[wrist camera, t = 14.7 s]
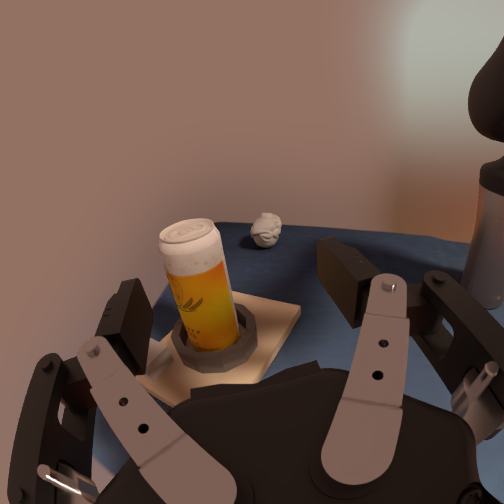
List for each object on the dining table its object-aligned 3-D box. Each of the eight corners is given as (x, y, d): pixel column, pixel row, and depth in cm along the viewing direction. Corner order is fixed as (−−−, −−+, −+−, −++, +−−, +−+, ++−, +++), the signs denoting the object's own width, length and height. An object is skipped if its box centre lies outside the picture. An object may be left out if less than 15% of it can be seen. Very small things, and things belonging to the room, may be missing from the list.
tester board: (218, 294, 44) (213, 274, 42) (300, 314, 37) (300, 291, 35) (131, 380, 29) (117, 360, 27) (222, 434, 22) (212, 417, 20)
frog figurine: (289, 242, 57) (287, 211, 54) (267, 256, 53) (263, 223, 50) (268, 236, 61) (264, 207, 58) (245, 249, 57) (240, 218, 54)
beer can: (189, 334, 34) (154, 227, 27) (233, 320, 35) (209, 212, 28) (199, 367, 28) (156, 250, 22) (249, 350, 30) (225, 230, 23)
